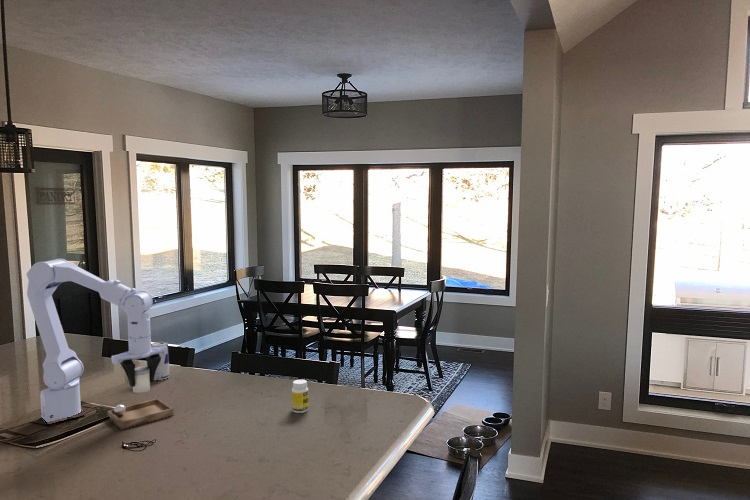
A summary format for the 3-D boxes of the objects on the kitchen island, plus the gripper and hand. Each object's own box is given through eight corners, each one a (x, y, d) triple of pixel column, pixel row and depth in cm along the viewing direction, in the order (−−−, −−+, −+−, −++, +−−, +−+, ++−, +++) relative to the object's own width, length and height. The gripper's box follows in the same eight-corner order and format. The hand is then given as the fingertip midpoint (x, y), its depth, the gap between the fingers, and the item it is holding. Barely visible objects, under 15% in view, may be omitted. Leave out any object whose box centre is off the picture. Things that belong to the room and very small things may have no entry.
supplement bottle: (305, 413, 152) (304, 384, 151) (289, 412, 153) (289, 383, 152) (310, 407, 157) (310, 379, 156) (295, 406, 158) (294, 378, 157)
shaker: (136, 394, 147) (135, 373, 147) (130, 389, 151) (129, 368, 150) (153, 390, 151) (152, 369, 150) (146, 385, 154) (146, 365, 153)
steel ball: (116, 418, 148) (115, 407, 147) (112, 415, 150) (112, 404, 149) (127, 415, 150) (127, 404, 149) (124, 412, 152) (123, 402, 152)
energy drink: (172, 375, 186) (170, 341, 185) (164, 381, 180) (163, 346, 179) (157, 375, 186) (155, 341, 185) (149, 380, 181) (147, 345, 180)
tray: (121, 430, 142) (120, 422, 142) (107, 418, 150) (107, 411, 150) (173, 415, 151) (173, 408, 151) (158, 404, 159) (158, 398, 159)
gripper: (116, 343, 141) (119, 393, 142) (171, 334, 151) (173, 381, 152) (108, 338, 146) (110, 387, 147) (161, 329, 156) (163, 375, 157)
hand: (141, 383), depth 150 cm, fingers closed on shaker, 4 cm apart
